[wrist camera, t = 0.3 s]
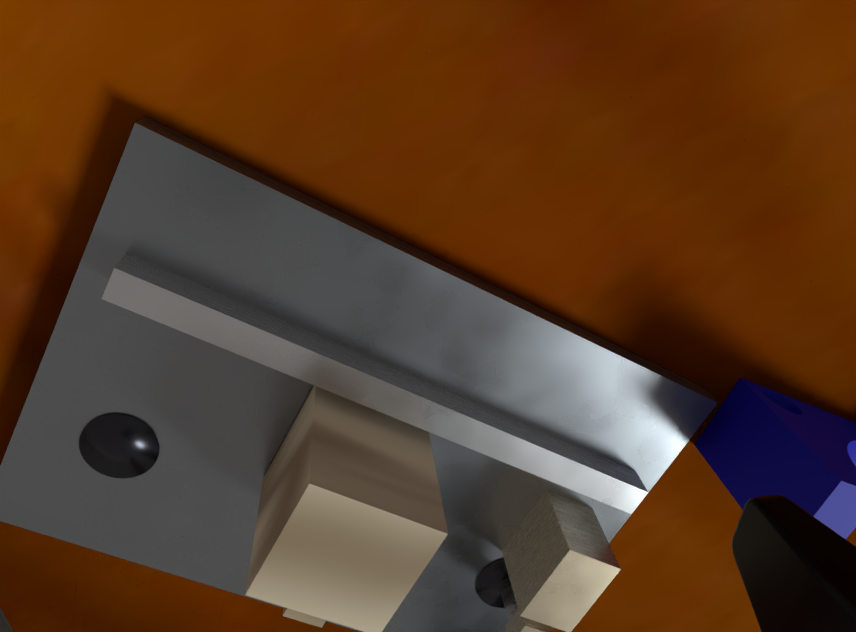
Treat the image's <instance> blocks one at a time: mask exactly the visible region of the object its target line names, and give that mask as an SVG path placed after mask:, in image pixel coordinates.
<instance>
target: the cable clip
mask: <svg viewBox="0 0 856 632" xmlns="http://www.w3.org/2000/svg"><path fill="white" fill-rule="evenodd" d="M695 446H696V447H697V449H698V450H699V452H700V453H701V454H702V456H703V457H704V458H705V460H706V461H707V462H708V464H709V465H710V466H711V468H712V469H713V470H714V472H715V473H716V474H717V476H718V477H719V478H720V480H721V481H722V482H723V484H724V485H725V486H726V488H727V489H728V490H729V492H730V493H731V494H732V496H733V497H734V498H735V500H736V501H737V502H738V504H739V505H740V507H741V508H742V509H744V506H745V504H746V502H747V501H748V500H749V499H751V498H753V497H760V496H768V495H781V496H784V497H786V498H788V499H790V500H791V501H793V502H794V503H795V504H797V505H798V506H800V507H801V508H802V509H804V510H805V511H807V512H808V513H809V514H811V515H812V516H814V517H815V518H816V519H818V520H819V521H821V522H822V523H823V524H825V525H826V526H828V527H829V528H830V529H832V530H833V531H835V532H836V533H837V534H839V535H840V536H842V537H843V538H844V539H846V538H847V537H848V536H849V535H850V533H851V532H852V531H853V530H854V528H855V527H856V423H855V422H852V421H850V420H847V419H845V418H842V417H839V416H837V415H834V414H832V413H829V412H827V411H824V410H822V409H819V408H816V407H814V406H811V405H809V404H806V403H804V402H801V401H799V400H796V399H793V398H791V397H788V396H786V395H783V394H781V393H778V392H776V391H773V390H770V389H768V388H765V387H763V386H760V385H758V384H755V383H753V382H750V381H747V380H745V379H742V378H740V379H739V380H738V382H737V383H736V385H735V386H734V388H733V389H732V391H731V392H730V394H729V395H728V397H727V398H726V399H725V401H724V402H723V404H722V405H721V407H720V408H719V410H718V411H717V413H716V414H715V416H714V417H713V419H712V420H711V422H710V423H709V424H708V426H707V427H706V429H705V430H704V432H703V433H702V435H701V436H700V438H699V439H698V441H697V442H696V444H695Z"/></svg>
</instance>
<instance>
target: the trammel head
mask: <svg viewBox="0 0 856 632" xmlns="http://www.w3.org/2000/svg"><path fill="white" fill-rule="evenodd" d="M447 535H448V531H447V526H446V520H445V515H444V510H443V505H442V500H441V494H440V489H439V484H438V479H437V473H436V468H435V463H434V458H433V453H432V447H431V442H430V437H429V432H428V431H425V430H423V429H420V428H418V427H415V426H413V425H410V424H408V423H406V422H403V421H401V420H398V419H396V418H393V417H391V416H388V415H386V414H383V413H381V412H378V411H376V410H374V409H371V408H369V407H366V406H364V405H361V404H359V403H356V402H354V401H351V400H349V399H346V398H344V397H342V396H339V395H337V394H334V393H332V392H329V391H327V390H324V389H322V388H319V387H317V386H314V387H313V389H312V390H311V392H310V394H309V396H308V398H307V400H306V401H305V403H304V405H303V407H302V409H301V411H300V412H299V414H298V416H297V418H296V420H295V421H294V423H293V425H292V427H291V429H290V431H289V432H288V434H287V436H286V438H285V440H284V442H283V443H282V445H281V447H280V449H279V451H278V452H277V454H276V456H275V458H274V460H273V462H272V463H271V465H270V467H269V469H268V471H267V473H266V474H265V476H264V478H263V481H262V488H261V494H260V501H259V507H258V514H257V521H256V527H255V534H254V540H253V547H252V553H251V560H250V567H249V573H248V580H247V586H246V593H245V595H246V596H250V597H253V598H256V599H259V600H263V601H266V602H269V603H272V604H276V605H279V606H282V607H283V616H285V617H288V618H291V619H295V620H298V621H301V622H305V623H308V624H311V625H314V626H318V627H321V628H322V626H323V625H324V623H325V622H326V620H328V621H331V622H334V623H337V624H340V625H344V626H347V627H350V628H353V629H357V630H360V631H363V632H382V631H383V629H384V628H385V626H386V625H387V623H388V622H389V620H390V619H391V617H392V616H393V615H394V613H395V612H396V610H397V609H398V607H399V606H400V604H401V603H402V601H403V600H404V598H405V597H406V595H407V594H408V592H409V591H410V589H411V588H412V586H413V585H414V584H415V582H416V581H417V579H418V578H419V576H420V575H421V573H422V572H423V570H424V569H425V567H426V566H427V564H428V563H429V561H430V560H431V558H432V557H433V555H434V554H435V553H436V551H437V550H438V548H439V547H440V545H441V544H442V542H443V541H444V539H445V538H446V536H447Z"/></svg>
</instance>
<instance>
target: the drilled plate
mask: <svg viewBox="0 0 856 632" xmlns="http://www.w3.org/2000/svg"><path fill="white" fill-rule="evenodd" d="M314 386H317V387H319V388H322V389H324V390H327V391H329V392H332V393H334V394H337V395H339V396H342V397H344V398H346V399H349V400H351V401H354V402H356V403H359V404H361V405H364V406H366V407H369V408H371V409H374V410H376V411H378V412H381V413H383V414H386V415H388V416H391V417H393V418H396V419H398V420H401V421H403V422H406V423H408V424H410V425H413V426H415V427H418V428H420V429H423V430H425V431H428V432H429V437H430V442H431V447H432V453H433V458H434V463H435V468H436V473H437V479H438V484H439V489H440V494H441V500H442V505H443V510H444V515H445V520H446V526H447V531H448V535H447V536H446V538H445V539H444V541H443V542H442V544H441V545H440V547H439V548H438V550H437V551H436V553H435V554H434V555H433V557H432V558H431V560H430V561H429V563H428V564H427V566H426V567H425V569H424V570H423V572H422V573H421V575H420V576H419V578H418V579H417V581H416V582H415V584H414V585H413V586H412V588H411V589H410V591H409V592H408V594H407V595H406V597H405V598H404V600H403V601H402V603H401V604H400V606H399V607H398V609H397V610H396V612H395V613H394V615H393V616H392V617H391V619H390V620H389V622H388V623H387V625H386V626H385V628H384V629H383V631H382V632H554V630H553V627H554V628H557V629H560V630H563V631H566V632H571V631H572V630H573V629H574V627H575V626H576V625H577V624H578V622H579V621H580V620H581V619H582V617H583V616H584V615H585V614H586V612H587V611H588V610H589V609H590V607H591V606H592V605H593V604H594V602H595V601H596V600H597V599H598V597H599V596H600V595H601V594H602V592H603V591H604V590H605V589H606V587H607V586H608V585H609V584H610V582H611V581H612V580H613V579H614V577H615V576H616V575H617V574H618V572H619V571H620V570H621V568H620V566H619V564H618V562H617V560H616V557H615V555H614V553H613V551H612V549H611V547H610V545H609V542H610V541H611V540H612V538H613V537H614V536H615V535H616V533H617V532H618V531H619V530H620V528H621V527H622V526H623V524H624V523H625V522H626V521H627V519H628V518H629V517H630V515H631V514H632V513H633V512H634V510H635V509H636V508H637V506H638V505H639V504H640V503H641V501H642V500H643V499H644V497H645V496H646V495H647V494H648V492H649V491H650V490H651V488H652V487H653V486H654V485H655V483H656V482H657V481H658V479H659V478H660V477H661V476H662V474H663V473H664V472H665V470H666V469H667V468H668V467H669V465H670V464H671V463H672V461H673V460H674V459H675V458H676V456H677V455H678V454H679V452H680V451H681V450H682V449H683V447H684V446H685V445H686V443H687V442H688V441H689V440H690V438H691V437H692V436H693V434H694V433H695V432H696V431H697V429H698V428H699V427H700V425H701V424H702V423H703V422H704V420H705V419H706V418H707V416H708V415H709V414H710V413H711V411H712V410H713V409H714V407H715V406H716V405H717V404H718V402H717V401H716V400H715V399H714V398H713V397H712V396H711V394H710V393H709V392H708V391H707V390H706V389H705V388H704V387H702V386H700V385H698V384H696V383H693V382H691V381H689V380H687V379H685V378H683V377H681V376H679V375H677V374H675V373H673V372H671V371H669V370H667V369H665V368H663V367H661V366H658V365H656V364H654V363H652V362H650V361H648V360H646V359H644V358H642V357H640V356H638V355H636V354H634V353H632V352H630V351H628V350H625V349H623V348H621V347H619V346H617V345H615V344H613V343H611V342H609V341H607V340H605V339H603V338H601V337H599V336H597V335H595V334H593V333H590V332H588V331H586V330H584V329H582V328H580V327H578V326H576V325H574V324H572V323H570V322H568V321H566V320H564V319H562V318H560V317H557V316H555V315H553V314H551V313H549V312H547V311H545V310H543V309H541V308H539V307H537V306H535V305H533V304H531V303H529V302H527V301H525V300H522V299H520V298H518V297H516V296H514V295H512V294H510V293H508V292H506V291H504V290H502V289H500V288H498V287H496V286H494V285H492V284H489V283H487V282H485V281H483V280H481V279H479V278H477V277H475V276H473V275H471V274H469V273H467V272H465V271H463V270H461V269H459V268H457V267H454V266H452V265H450V264H448V263H446V262H444V261H442V260H440V259H438V258H436V257H434V256H432V255H430V254H428V253H426V252H424V251H422V250H419V249H417V248H415V247H413V246H411V245H409V244H407V243H405V242H403V241H401V240H399V239H397V238H395V237H393V236H391V235H389V234H386V233H384V232H382V231H380V230H378V229H376V228H374V227H372V226H370V225H368V224H366V223H364V222H362V221H360V220H358V219H356V218H354V217H351V216H349V215H347V214H345V213H343V212H341V211H339V210H337V209H335V208H333V207H331V206H329V205H327V204H325V203H323V202H321V201H318V200H316V199H314V198H312V197H310V196H308V195H306V194H304V193H302V192H300V191H298V190H296V189H294V188H292V187H290V186H288V185H286V184H283V183H281V182H279V181H277V180H275V179H273V178H271V177H269V176H267V175H265V174H263V173H261V172H259V171H257V170H255V169H253V168H250V167H248V166H246V165H244V164H242V163H240V162H238V161H236V160H234V159H232V158H230V157H228V156H226V155H224V154H222V153H220V152H218V151H215V150H213V149H211V148H209V147H207V146H205V145H203V144H201V143H199V142H197V141H195V140H193V139H191V138H189V137H187V136H185V135H182V134H180V133H178V132H176V131H174V130H172V129H170V128H168V127H166V126H164V125H162V124H160V123H158V122H156V121H154V120H152V119H150V118H147V117H145V116H143V117H142V118H141V119H139V120H138V121H137V122H135V124H134V126H133V129H132V132H131V134H130V137H129V139H128V142H127V144H126V147H125V149H124V152H123V154H122V157H121V160H120V162H119V165H118V167H117V170H116V172H115V175H114V177H113V180H112V182H111V185H110V188H109V190H108V193H107V195H106V198H105V200H104V203H103V205H102V208H101V211H100V213H99V216H98V218H97V221H96V223H95V226H94V228H93V231H92V233H91V236H90V239H89V241H88V244H87V246H86V249H85V251H84V254H83V256H82V259H81V262H80V264H79V267H78V269H77V272H76V274H75V277H74V279H73V282H72V284H71V287H70V290H69V292H68V295H67V297H66V300H65V302H64V305H63V307H62V310H61V312H60V315H59V318H58V320H57V323H56V325H55V328H54V330H53V333H52V335H51V338H50V341H49V343H48V346H47V348H46V351H45V353H44V356H43V358H42V361H41V363H40V366H39V369H38V371H37V374H36V376H35V379H34V381H33V384H32V386H31V389H30V392H29V394H28V397H27V399H26V402H25V404H24V407H23V409H22V412H21V414H20V417H19V420H18V422H17V425H16V427H15V430H14V432H13V435H12V437H11V440H10V443H9V445H8V448H7V450H6V453H5V455H4V458H3V460H2V463H1V465H0V521H2V522H5V523H8V524H12V525H15V526H18V527H21V528H25V529H28V530H31V531H34V532H38V533H41V534H44V535H47V536H51V537H54V538H57V539H60V540H64V541H67V542H70V543H73V544H76V545H80V546H83V547H86V548H89V549H93V550H96V551H99V552H102V553H106V554H109V555H112V556H115V557H119V558H122V559H125V560H128V561H132V562H135V563H138V564H141V565H145V566H148V567H151V568H154V569H158V570H161V571H164V572H167V573H171V574H174V575H177V576H180V577H184V578H187V579H190V580H193V581H197V582H200V583H203V584H206V585H210V586H213V587H216V588H219V589H223V590H226V591H229V592H232V593H236V594H239V595H242V596H245V597H249V598H252V599H255V600H258V601H262V602H265V603H268V604H271V605H275V606H278V607H281V608H283V607H282V606H279V605H276V604H272V603H269V602H266V601H263V600H259V599H256V598H253V597H250V596H246V595H245V593H246V586H247V580H248V573H249V567H250V560H251V553H252V547H253V540H254V534H255V527H256V521H257V514H258V507H259V501H260V494H261V488H262V481H263V478H264V476H265V474H266V473H267V471H268V469H269V467H270V465H271V463H272V462H273V460H274V458H275V456H276V454H277V452H278V451H279V449H280V447H281V445H282V443H283V442H284V440H285V438H286V436H287V434H288V432H289V431H290V429H291V427H292V425H293V423H294V421H295V420H296V418H297V416H298V414H299V412H300V411H301V409H302V407H303V405H304V403H305V401H306V400H307V398H308V396H309V394H310V392H311V390H312V389H313V387H314ZM326 621H327V622H330V623H333V624H336V625H340V624H337V623H334V622H331V621H328V620H326ZM340 626H343V627H346V628H349V629H353V628H350V627H347V626H344V625H340ZM353 630H356V631H359V632H363V631H360V630H357V629H353Z"/></svg>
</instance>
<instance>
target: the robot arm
mask: <svg viewBox="0 0 856 632" xmlns="http://www.w3.org/2000/svg"><path fill="white" fill-rule="evenodd" d="M732 546H733V553H734V557H735V560H736V563H737V566H738V568H739V571H740V574H741V577H742V579H743V582H744V585H745V588H746V590H747V593H748V596H749V598H750V601H751V604H752V607H753V609H754V612H755V615H756V618H757V620H758V623H759V626H760V628H761V631H762V632H856V546H854V545H853V544H851V543H850V542H849V541H847V540H846V539H844V538H843V537H842V536H840V535H839V534H837V533H836V532H835V531H833V530H832V529H830V528H829V527H828V526H826V525H825V524H823V523H822V522H821V521H819V520H818V519H816V518H815V517H814V516H812V515H811V514H809V513H808V512H807V511H805V510H804V509H802V508H801V507H800V506H798V505H797V504H795V503H794V502H793V501H791V500H790V499H788V498H786V497H784V496H781V495H768V496H760V497H753V498H751V499H749V500H748V501H747V502H746V504H745V506H744V509H743V512H742V515H741V517H740V520H739V523H738V525H737V528H736V531H735V533H734V536H733V543H732ZM0 632H13V630H12V628H11V626H10V624H9V622H8V621H7V619H6V617H5V615H4V614H3V612H2V610H1V609H0Z"/></svg>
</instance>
